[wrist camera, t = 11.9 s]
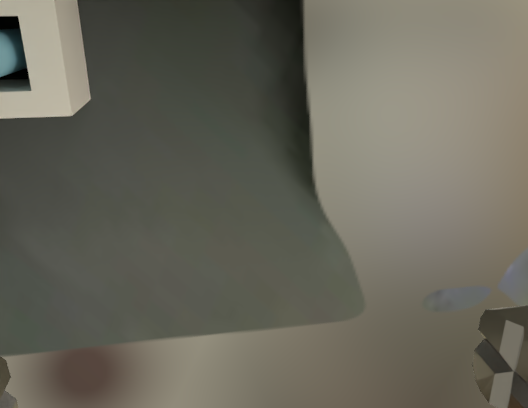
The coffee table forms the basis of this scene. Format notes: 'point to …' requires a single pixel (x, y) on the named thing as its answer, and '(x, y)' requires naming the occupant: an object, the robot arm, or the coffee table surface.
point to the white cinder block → (47, 61)
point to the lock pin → (11, 51)
